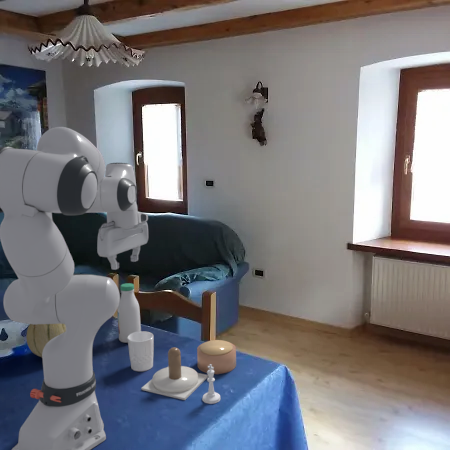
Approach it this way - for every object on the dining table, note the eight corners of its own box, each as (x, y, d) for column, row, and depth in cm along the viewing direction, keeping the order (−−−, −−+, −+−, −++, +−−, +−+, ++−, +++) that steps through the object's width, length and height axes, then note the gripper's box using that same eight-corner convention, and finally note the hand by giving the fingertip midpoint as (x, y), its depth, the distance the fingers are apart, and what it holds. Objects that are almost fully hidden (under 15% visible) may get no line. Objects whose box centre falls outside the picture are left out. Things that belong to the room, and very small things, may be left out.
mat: (184, 400, 130) (184, 398, 130) (141, 389, 136) (141, 387, 136) (208, 376, 143) (208, 375, 143) (167, 368, 149) (167, 366, 148)
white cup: (149, 373, 146) (148, 342, 144) (125, 371, 147) (123, 340, 145) (158, 361, 153) (157, 332, 151) (135, 360, 155) (133, 330, 153)
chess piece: (214, 405, 127) (213, 370, 126) (198, 400, 130) (197, 366, 128) (224, 397, 131) (223, 362, 130) (208, 392, 134) (208, 358, 132)
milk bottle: (145, 337, 172) (143, 283, 169) (130, 345, 166) (127, 289, 162) (129, 333, 176) (126, 280, 173) (114, 340, 170) (111, 286, 166)
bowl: (226, 377, 142) (226, 358, 141) (190, 369, 147) (190, 351, 146) (242, 360, 153) (241, 342, 152) (208, 353, 158) (207, 336, 157)
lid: (183, 396, 131) (182, 361, 129) (143, 387, 136) (141, 353, 134) (205, 375, 142) (204, 342, 140) (168, 367, 148) (166, 335, 146)
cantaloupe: (46, 370, 149) (42, 324, 146) (18, 359, 157) (14, 315, 154) (84, 352, 161) (81, 309, 158) (56, 342, 169) (53, 301, 166)
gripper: (108, 225, 129) (111, 275, 132) (151, 214, 148) (153, 258, 150) (90, 224, 132) (93, 273, 134) (133, 213, 150) (136, 256, 153)
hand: (125, 265), depth 142 cm, fingers open, 8 cm apart
